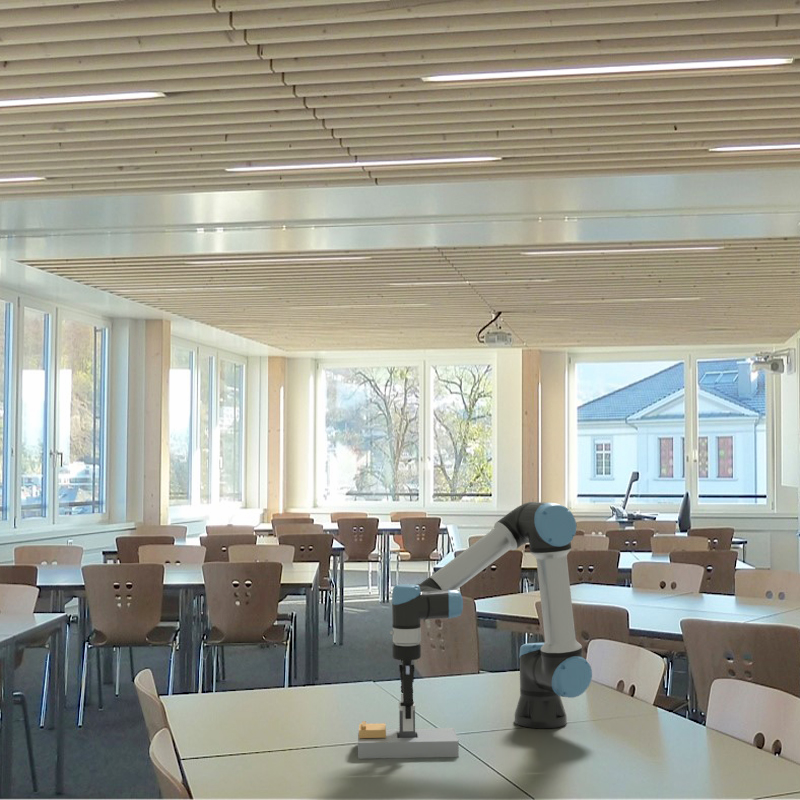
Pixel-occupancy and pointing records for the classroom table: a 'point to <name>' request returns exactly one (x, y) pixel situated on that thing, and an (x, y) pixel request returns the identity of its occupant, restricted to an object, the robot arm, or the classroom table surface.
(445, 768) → the classroom table surface
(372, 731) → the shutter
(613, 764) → the classroom table surface
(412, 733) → the plug
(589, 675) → the robot arm
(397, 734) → the socket board
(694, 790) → the classroom table surface
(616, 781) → the classroom table surface
